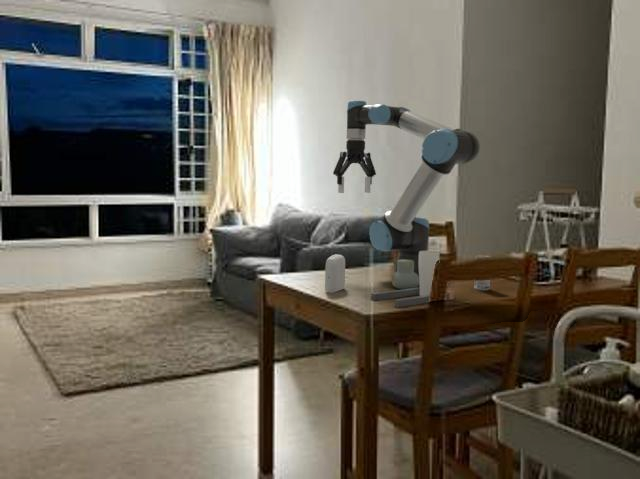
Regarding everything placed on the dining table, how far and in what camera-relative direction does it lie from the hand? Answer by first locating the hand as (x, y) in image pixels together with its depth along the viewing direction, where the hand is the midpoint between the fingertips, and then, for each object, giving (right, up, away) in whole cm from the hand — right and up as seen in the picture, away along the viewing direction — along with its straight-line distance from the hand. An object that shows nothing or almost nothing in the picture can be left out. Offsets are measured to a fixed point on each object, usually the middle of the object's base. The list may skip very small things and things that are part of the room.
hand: (354, 192), depth 264 cm
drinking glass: (+22, -38, -49) cm, 66 cm away
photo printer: (-9, -37, -40) cm, 55 cm away
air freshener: (+16, -36, -34) cm, 52 cm away
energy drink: (+43, -37, -33) cm, 66 cm away
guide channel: (+16, -38, -53) cm, 68 cm away
